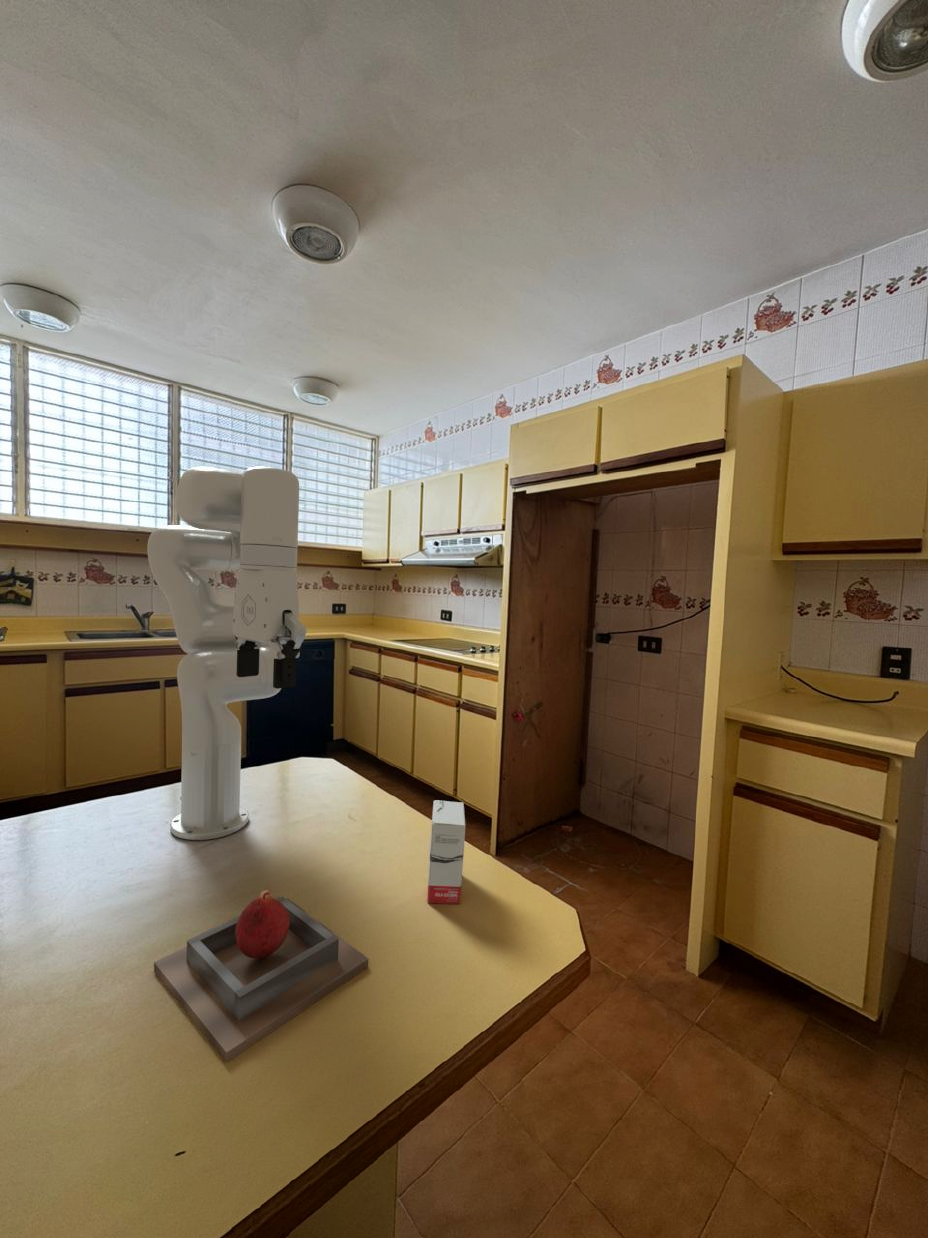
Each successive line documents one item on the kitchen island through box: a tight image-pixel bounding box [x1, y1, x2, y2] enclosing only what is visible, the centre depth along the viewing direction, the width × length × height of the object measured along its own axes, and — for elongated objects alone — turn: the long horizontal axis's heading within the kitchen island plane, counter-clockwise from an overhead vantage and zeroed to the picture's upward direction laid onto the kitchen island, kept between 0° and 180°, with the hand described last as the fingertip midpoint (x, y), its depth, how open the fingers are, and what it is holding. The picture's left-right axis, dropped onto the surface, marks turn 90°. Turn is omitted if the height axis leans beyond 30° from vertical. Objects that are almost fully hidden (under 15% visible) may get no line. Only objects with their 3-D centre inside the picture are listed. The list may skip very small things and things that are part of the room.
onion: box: [235, 889, 290, 959], centre depth 61 cm, size 6×6×8 cm
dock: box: [153, 895, 369, 1063], centre depth 61 cm, size 17×17×4 cm
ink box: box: [426, 799, 466, 905], centre depth 79 cm, size 8×5×12 cm, turn 2°
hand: (265, 681), depth 75 cm, fingers open, 9 cm apart
